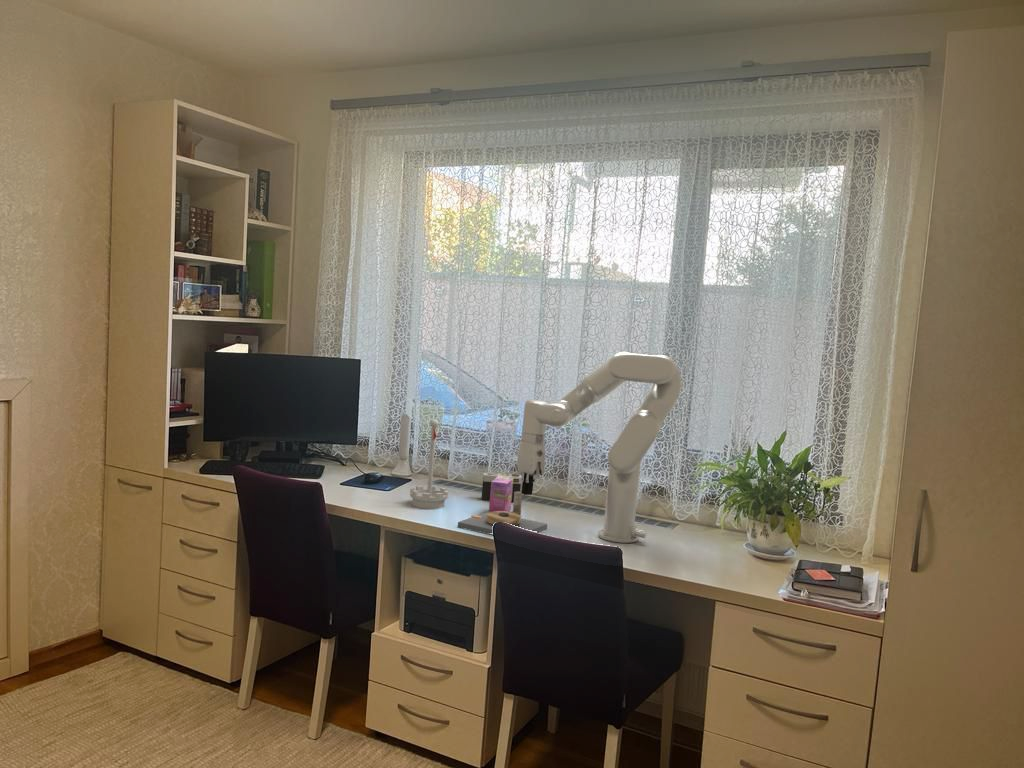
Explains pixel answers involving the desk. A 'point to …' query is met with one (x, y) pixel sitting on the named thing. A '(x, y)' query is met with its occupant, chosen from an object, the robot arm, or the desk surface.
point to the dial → (507, 513)
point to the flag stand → (429, 482)
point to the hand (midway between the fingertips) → (526, 494)
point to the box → (501, 494)
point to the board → (483, 526)
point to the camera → (491, 476)
